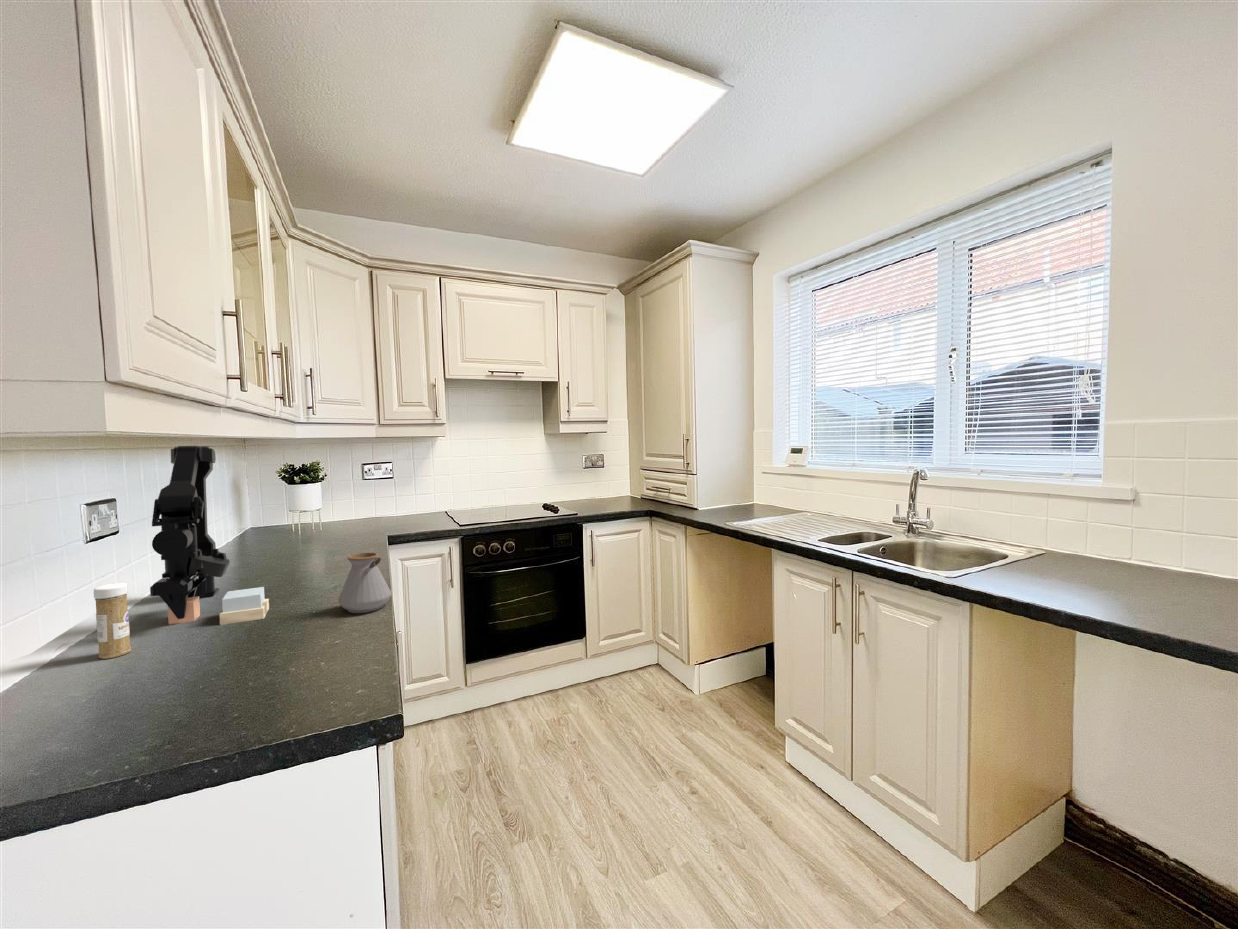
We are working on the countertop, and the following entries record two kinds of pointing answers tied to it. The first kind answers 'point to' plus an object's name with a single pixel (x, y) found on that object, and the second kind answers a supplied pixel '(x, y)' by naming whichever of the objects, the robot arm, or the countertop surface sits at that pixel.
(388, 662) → the countertop surface
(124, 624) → the sprinkles bottle
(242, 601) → the grey-blue top slab
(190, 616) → the terracotta cube
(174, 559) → the robot arm
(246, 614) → the oak base slab
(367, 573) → the coffee pot
